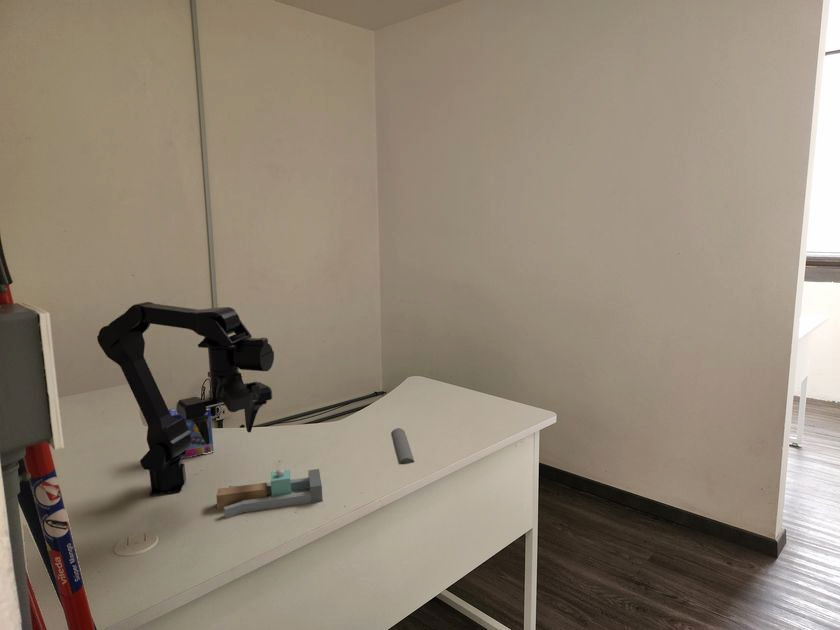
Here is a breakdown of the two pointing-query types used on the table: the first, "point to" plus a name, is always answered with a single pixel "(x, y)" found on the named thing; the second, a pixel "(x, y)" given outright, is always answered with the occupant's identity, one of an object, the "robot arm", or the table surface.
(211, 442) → the ink cartridge box
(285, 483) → the block
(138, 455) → the table surface
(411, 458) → the gray half cylinder
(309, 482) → the guide
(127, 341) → the robot arm
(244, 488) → the batten
